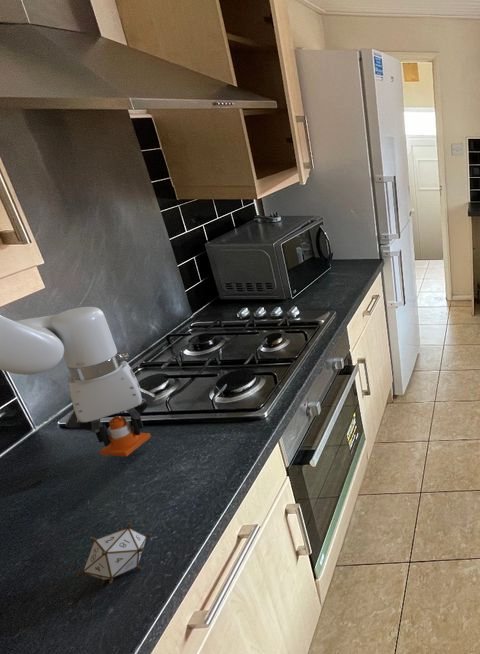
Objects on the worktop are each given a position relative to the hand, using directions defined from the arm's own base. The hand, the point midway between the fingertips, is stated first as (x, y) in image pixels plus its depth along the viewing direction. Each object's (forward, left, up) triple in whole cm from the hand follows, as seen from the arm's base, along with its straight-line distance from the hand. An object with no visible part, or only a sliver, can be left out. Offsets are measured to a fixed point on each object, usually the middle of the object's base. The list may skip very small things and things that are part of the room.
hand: (123, 436), depth 91 cm
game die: (+20, -23, -7) cm, 31 cm away
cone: (0, 0, -3) cm, 3 cm away
